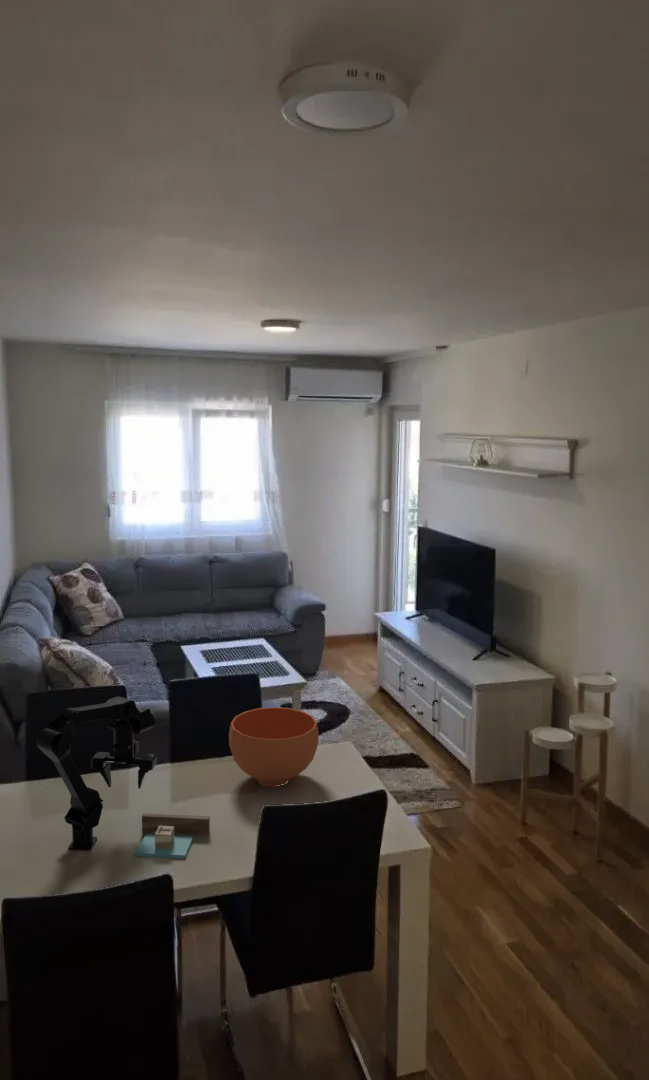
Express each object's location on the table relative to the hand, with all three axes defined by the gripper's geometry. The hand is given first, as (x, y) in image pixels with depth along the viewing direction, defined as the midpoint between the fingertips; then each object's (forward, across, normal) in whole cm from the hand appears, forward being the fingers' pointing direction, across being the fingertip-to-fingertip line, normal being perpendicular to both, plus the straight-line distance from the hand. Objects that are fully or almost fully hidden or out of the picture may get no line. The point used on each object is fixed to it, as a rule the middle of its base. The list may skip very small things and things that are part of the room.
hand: (124, 787), depth 238 cm
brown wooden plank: (+11, -17, +5) cm, 21 cm away
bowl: (+11, -41, -33) cm, 54 cm away
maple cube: (+10, -16, +14) cm, 23 cm away
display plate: (+11, -16, +14) cm, 24 cm away
